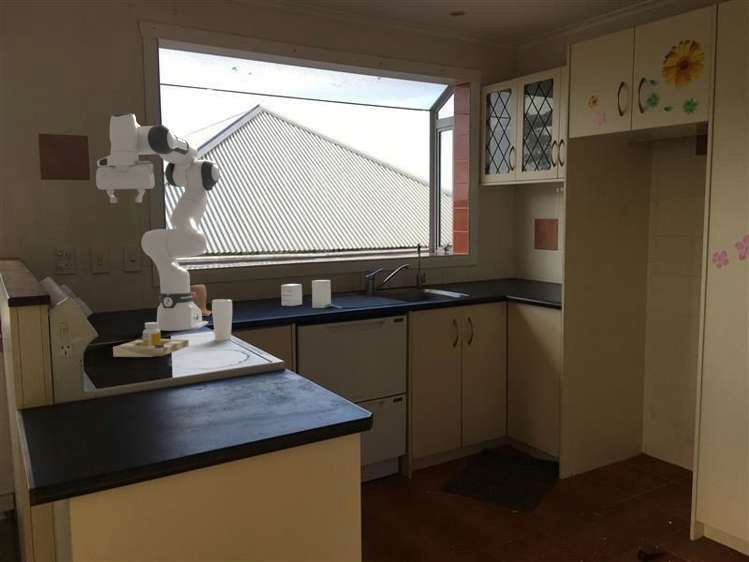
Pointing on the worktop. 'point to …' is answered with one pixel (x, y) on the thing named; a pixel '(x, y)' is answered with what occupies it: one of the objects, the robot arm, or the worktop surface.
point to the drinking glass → (222, 318)
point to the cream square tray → (148, 348)
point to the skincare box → (321, 293)
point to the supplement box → (291, 294)
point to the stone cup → (200, 298)
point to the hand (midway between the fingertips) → (126, 202)
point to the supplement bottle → (151, 334)
